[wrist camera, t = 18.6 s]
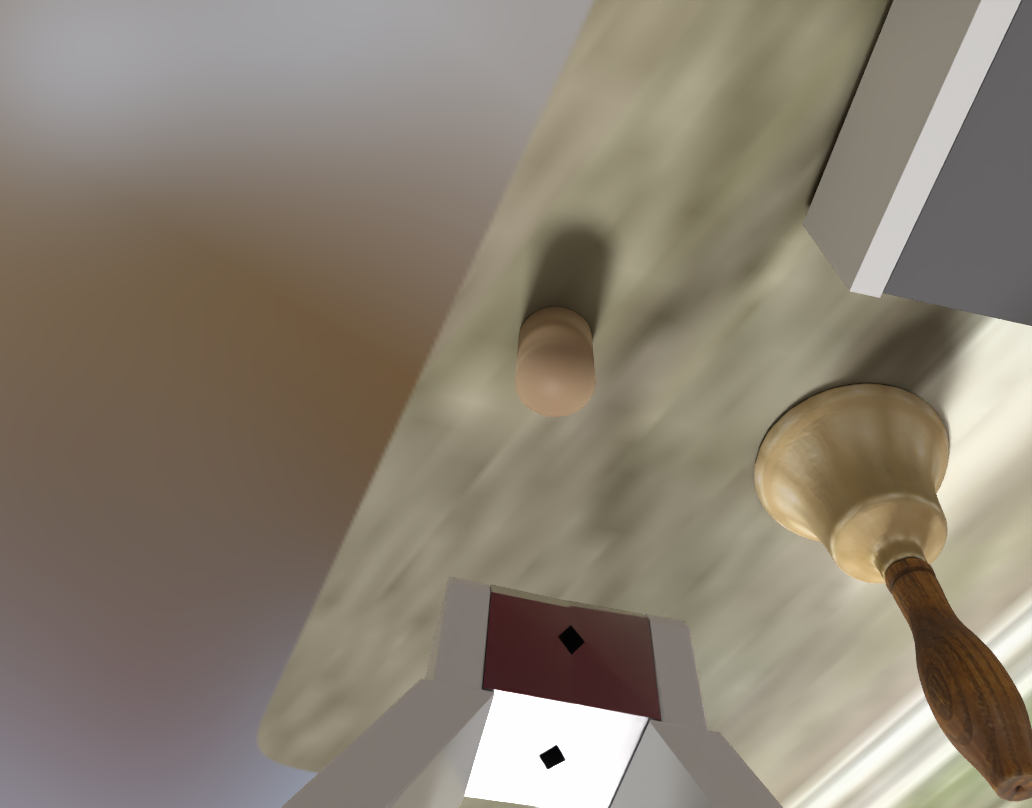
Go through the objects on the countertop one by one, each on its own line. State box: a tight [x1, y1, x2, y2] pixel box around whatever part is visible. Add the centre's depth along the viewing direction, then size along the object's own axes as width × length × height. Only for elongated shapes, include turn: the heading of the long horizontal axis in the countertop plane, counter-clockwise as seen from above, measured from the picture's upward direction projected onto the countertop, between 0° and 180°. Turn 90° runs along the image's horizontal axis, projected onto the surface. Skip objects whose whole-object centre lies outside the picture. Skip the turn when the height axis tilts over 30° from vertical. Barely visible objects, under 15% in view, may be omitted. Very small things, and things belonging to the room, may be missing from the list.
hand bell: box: [754, 383, 1032, 801], centre depth 32 cm, size 8×8×16 cm
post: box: [515, 307, 595, 417], centre depth 34 cm, size 3×3×4 cm
